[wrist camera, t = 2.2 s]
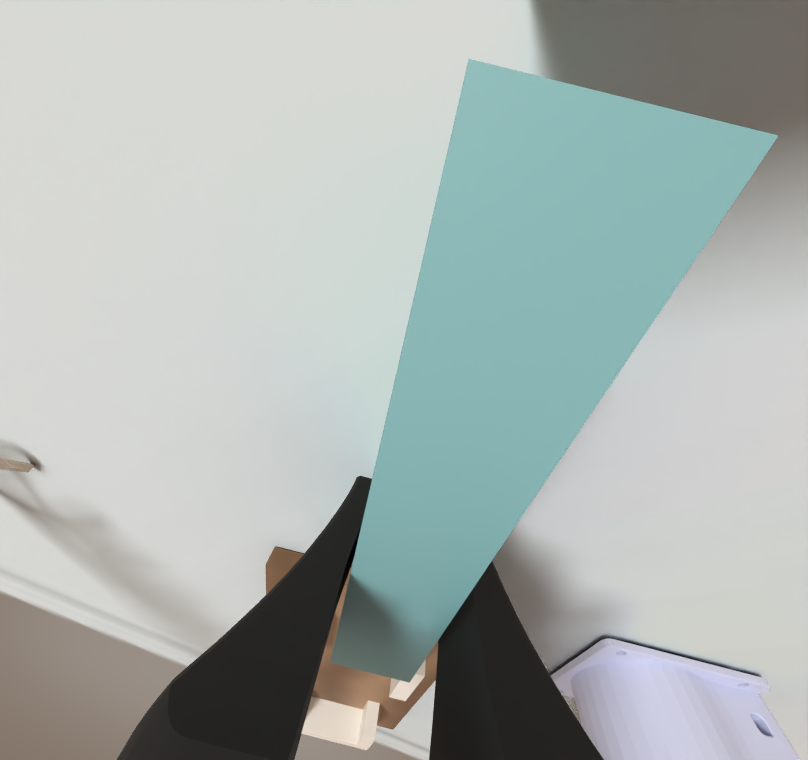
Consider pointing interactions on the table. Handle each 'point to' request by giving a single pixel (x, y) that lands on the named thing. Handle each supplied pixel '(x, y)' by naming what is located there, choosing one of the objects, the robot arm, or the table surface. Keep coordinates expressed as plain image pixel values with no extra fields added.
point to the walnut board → (343, 680)
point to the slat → (521, 328)
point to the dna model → (15, 465)
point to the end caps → (353, 716)
